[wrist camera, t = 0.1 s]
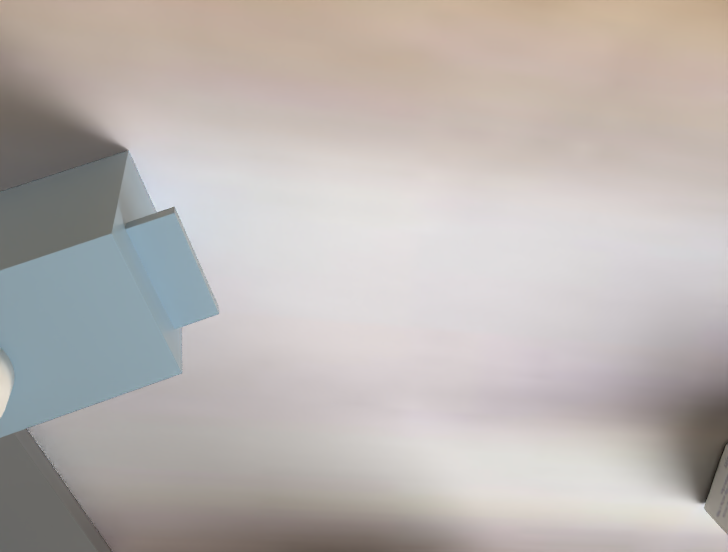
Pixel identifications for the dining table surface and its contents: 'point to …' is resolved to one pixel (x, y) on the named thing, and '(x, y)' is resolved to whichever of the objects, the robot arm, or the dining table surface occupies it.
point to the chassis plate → (39, 504)
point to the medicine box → (719, 494)
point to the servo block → (90, 291)
